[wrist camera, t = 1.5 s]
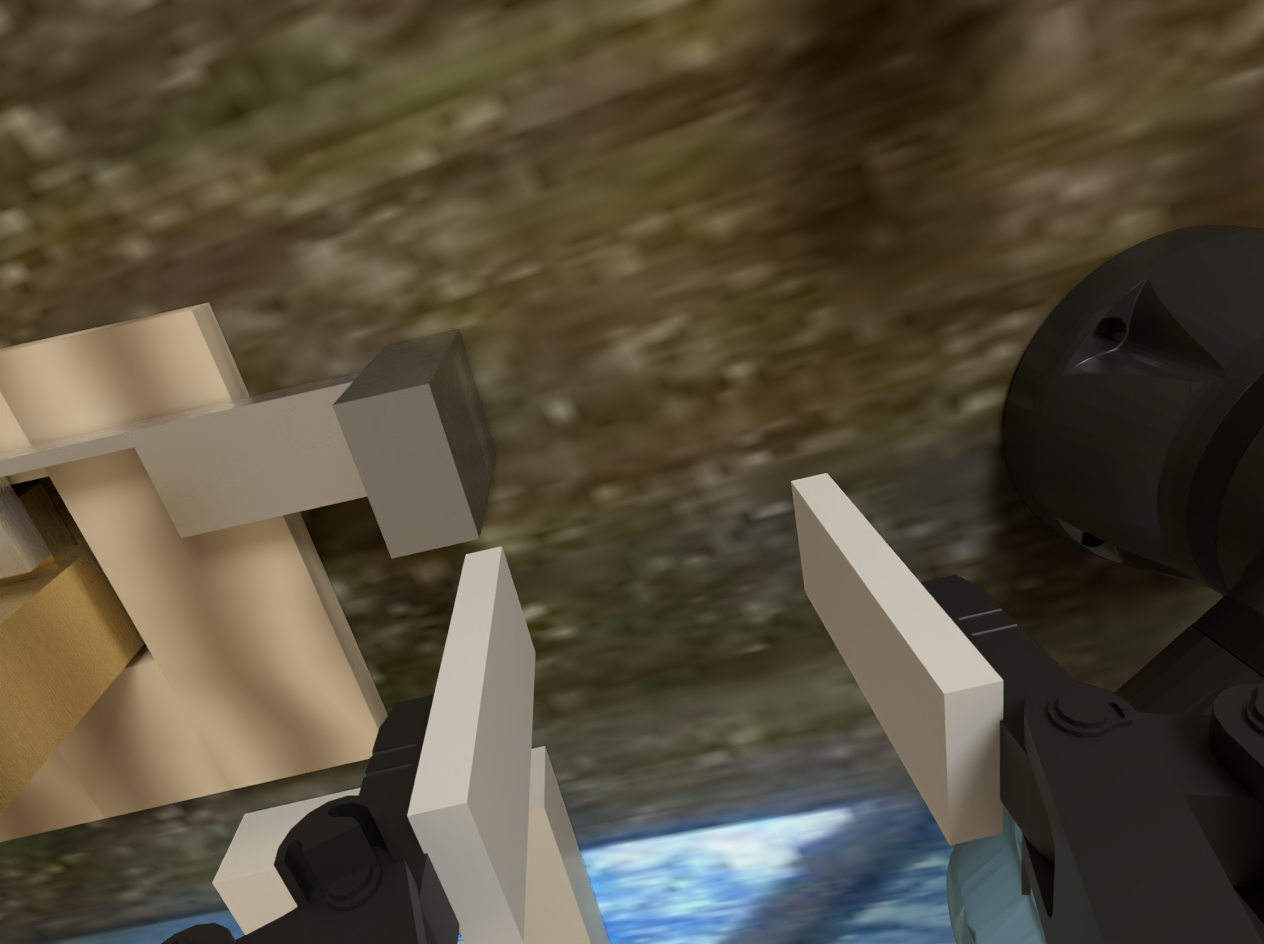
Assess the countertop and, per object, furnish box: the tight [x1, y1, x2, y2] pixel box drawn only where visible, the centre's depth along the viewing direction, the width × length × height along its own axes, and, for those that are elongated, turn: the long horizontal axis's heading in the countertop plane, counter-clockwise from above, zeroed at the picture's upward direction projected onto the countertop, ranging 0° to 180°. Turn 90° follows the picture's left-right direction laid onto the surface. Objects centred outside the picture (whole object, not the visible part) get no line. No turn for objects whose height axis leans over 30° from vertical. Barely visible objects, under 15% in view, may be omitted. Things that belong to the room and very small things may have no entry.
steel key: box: [0, 329, 496, 579], centre depth 27 cm, size 22×6×8 cm, turn 102°
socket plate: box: [0, 303, 388, 842], centre depth 32 cm, size 22×22×2 cm
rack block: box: [213, 746, 610, 944], centre depth 40 cm, size 16×16×4 cm
